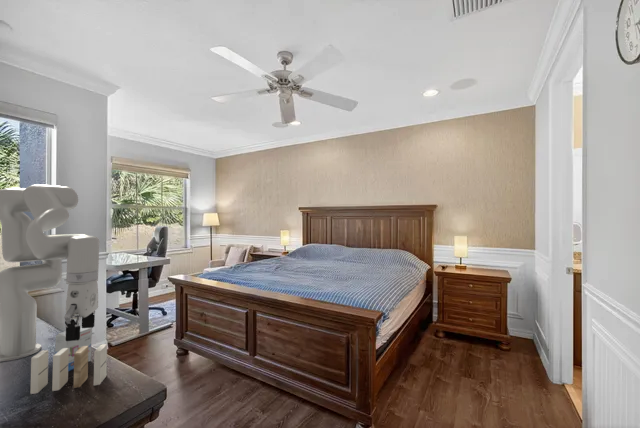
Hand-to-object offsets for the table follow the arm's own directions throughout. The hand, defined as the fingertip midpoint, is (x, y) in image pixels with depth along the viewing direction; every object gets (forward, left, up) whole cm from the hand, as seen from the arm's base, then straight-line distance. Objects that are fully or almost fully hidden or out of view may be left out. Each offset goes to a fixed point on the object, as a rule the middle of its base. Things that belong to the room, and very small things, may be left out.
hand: (80, 333), depth 89 cm
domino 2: (-5, 0, -15) cm, 15 cm away
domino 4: (+5, 0, -15) cm, 16 cm away
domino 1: (-10, 0, -15) cm, 18 cm away
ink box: (-7, +13, -15) cm, 21 cm away
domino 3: (0, 0, -15) cm, 15 cm away
